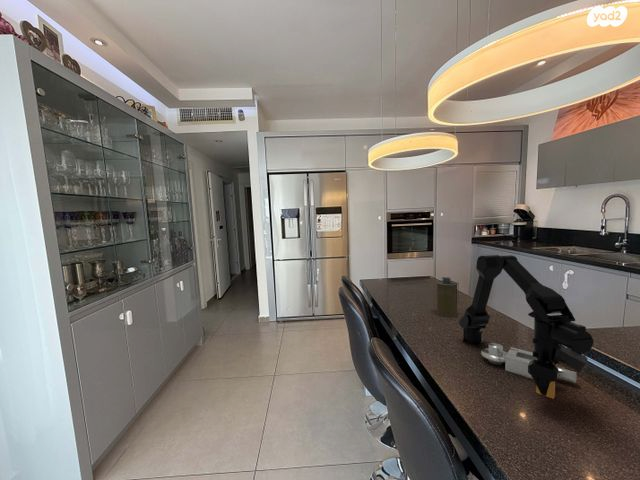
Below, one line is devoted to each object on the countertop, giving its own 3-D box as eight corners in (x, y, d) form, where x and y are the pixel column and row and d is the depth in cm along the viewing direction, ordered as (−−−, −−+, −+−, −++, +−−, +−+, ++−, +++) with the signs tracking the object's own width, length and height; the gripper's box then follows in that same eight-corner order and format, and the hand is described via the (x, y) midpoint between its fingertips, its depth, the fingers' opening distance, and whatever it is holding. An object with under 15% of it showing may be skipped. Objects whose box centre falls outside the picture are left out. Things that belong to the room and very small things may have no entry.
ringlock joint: (478, 362, 98) (478, 346, 97) (485, 352, 104) (485, 337, 103) (575, 392, 79) (575, 372, 79) (576, 378, 86) (577, 360, 85)
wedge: (536, 393, 80) (536, 367, 79) (537, 389, 81) (537, 363, 81) (553, 399, 77) (554, 372, 76) (554, 394, 79) (555, 368, 78)
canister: (435, 315, 146) (434, 278, 144) (438, 309, 154) (438, 275, 153) (457, 318, 140) (457, 280, 138) (459, 312, 148) (459, 276, 147)
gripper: (584, 358, 66) (583, 418, 67) (586, 333, 79) (584, 383, 80) (527, 344, 74) (527, 398, 75) (537, 323, 87) (536, 370, 88)
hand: (545, 387), depth 79 cm, fingers open, 9 cm apart
